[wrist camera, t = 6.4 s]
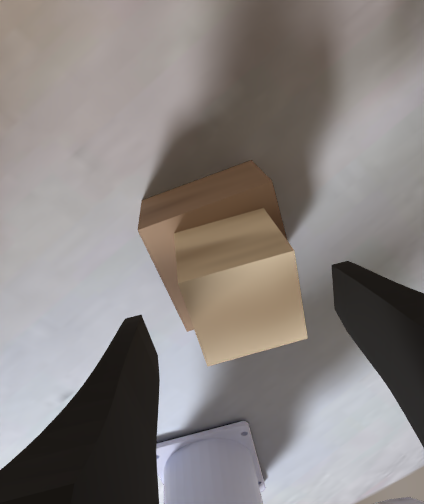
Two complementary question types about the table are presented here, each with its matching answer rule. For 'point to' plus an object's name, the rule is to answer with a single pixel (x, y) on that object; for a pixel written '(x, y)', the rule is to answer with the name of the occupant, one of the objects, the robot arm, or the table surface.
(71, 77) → the table surface
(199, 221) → the tan wooden block
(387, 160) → the table surface
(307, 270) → the table surface
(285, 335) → the beech cube
